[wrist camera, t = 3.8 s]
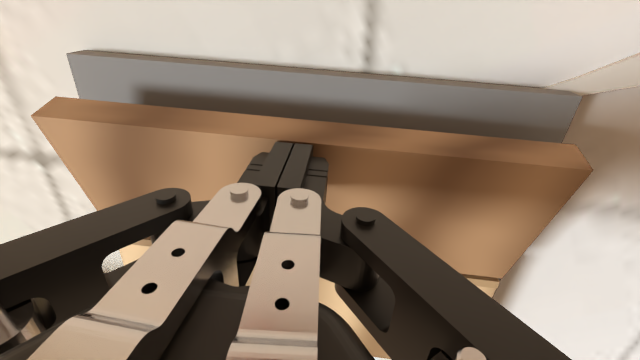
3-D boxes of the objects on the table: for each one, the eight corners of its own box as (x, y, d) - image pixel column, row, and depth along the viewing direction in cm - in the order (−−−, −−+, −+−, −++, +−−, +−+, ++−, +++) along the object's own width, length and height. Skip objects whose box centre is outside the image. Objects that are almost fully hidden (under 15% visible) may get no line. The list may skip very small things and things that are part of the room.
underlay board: (567, 90, 16) (582, 96, 14) (460, 344, 25) (464, 360, 24) (84, 50, 17) (66, 53, 16) (152, 304, 26) (144, 316, 25)
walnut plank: (575, 144, 13) (593, 170, 12) (494, 254, 19) (502, 278, 18) (55, 96, 15) (30, 115, 13) (126, 212, 20) (112, 232, 19)
